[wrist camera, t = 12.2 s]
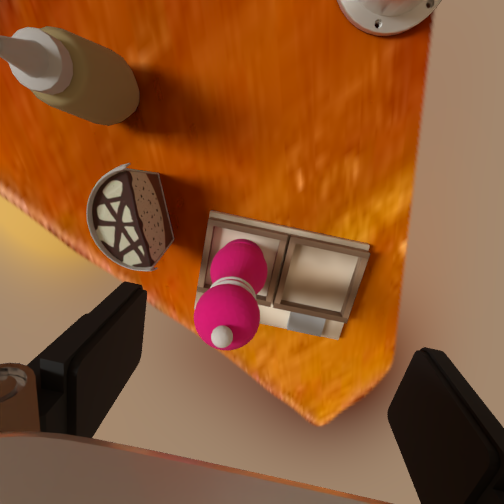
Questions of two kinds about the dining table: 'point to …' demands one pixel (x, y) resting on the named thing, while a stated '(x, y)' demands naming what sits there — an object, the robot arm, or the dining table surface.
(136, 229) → the food container
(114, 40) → the dining table surface
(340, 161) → the dining table surface
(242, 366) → the dining table surface
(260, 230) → the holder board
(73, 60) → the squeeze bottle
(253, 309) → the pepper mill
